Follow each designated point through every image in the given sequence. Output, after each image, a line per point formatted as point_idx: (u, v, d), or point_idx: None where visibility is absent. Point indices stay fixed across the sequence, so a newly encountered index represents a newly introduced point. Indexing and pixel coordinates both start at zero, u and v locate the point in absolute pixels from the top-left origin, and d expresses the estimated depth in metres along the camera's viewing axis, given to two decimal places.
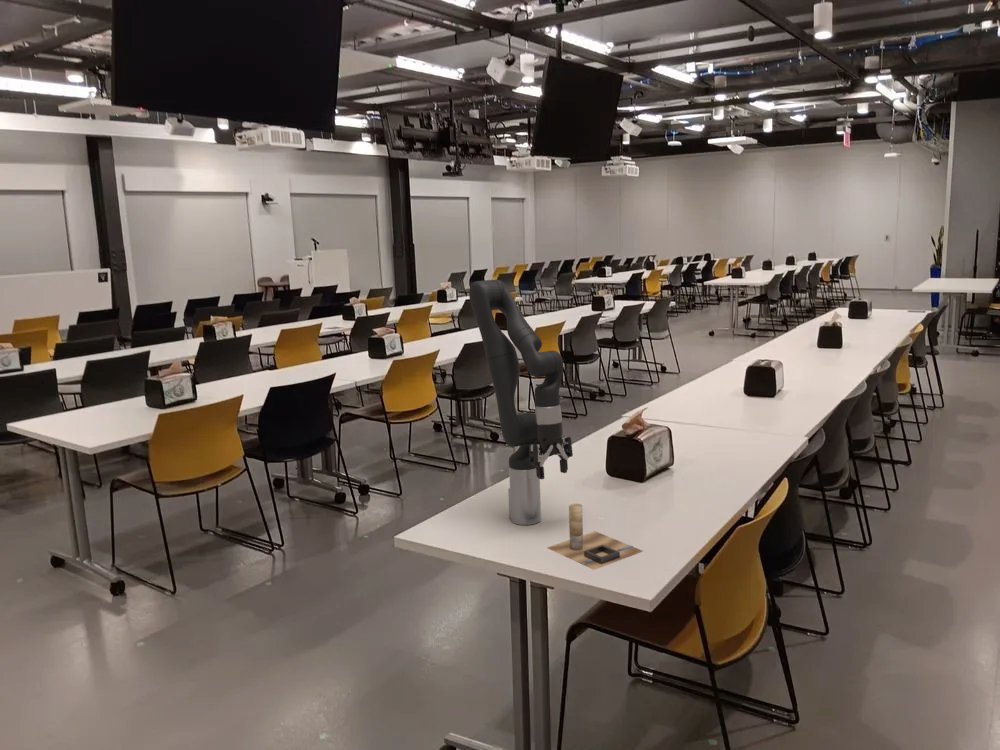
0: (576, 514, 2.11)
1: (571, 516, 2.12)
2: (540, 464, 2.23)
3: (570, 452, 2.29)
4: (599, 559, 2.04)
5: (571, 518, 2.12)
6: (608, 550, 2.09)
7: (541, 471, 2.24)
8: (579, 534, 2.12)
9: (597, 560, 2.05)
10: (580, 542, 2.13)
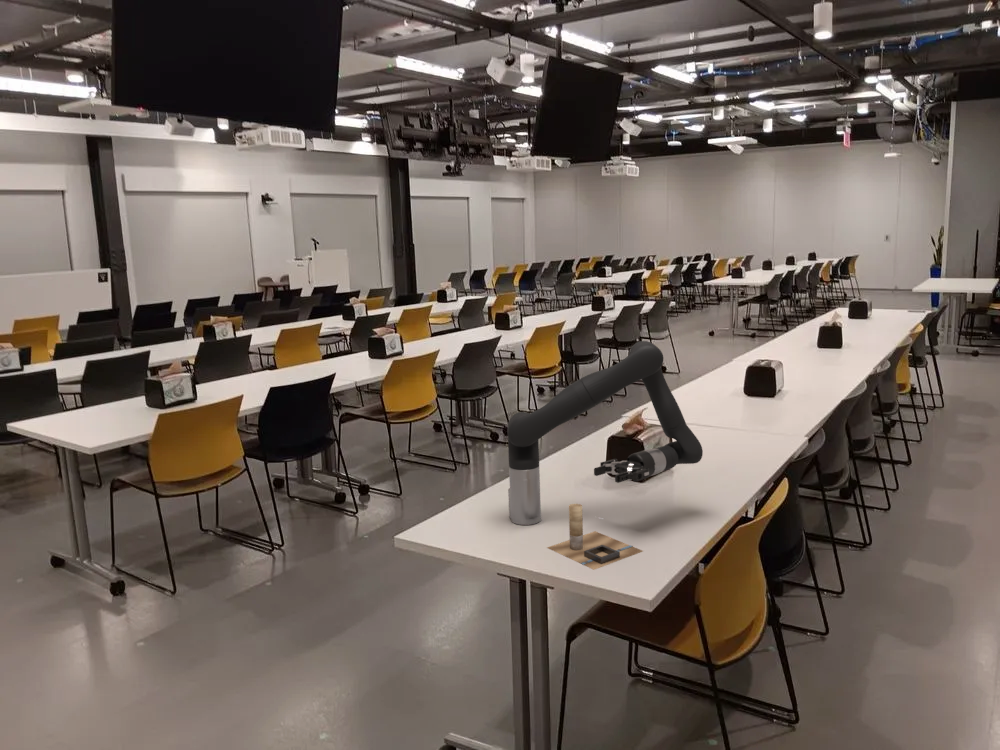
0: (576, 514, 2.11)
1: (571, 516, 2.12)
2: None
3: None
4: (599, 559, 2.04)
5: (571, 518, 2.12)
6: (608, 550, 2.09)
7: None
8: (579, 534, 2.12)
9: (597, 560, 2.05)
10: (580, 542, 2.13)
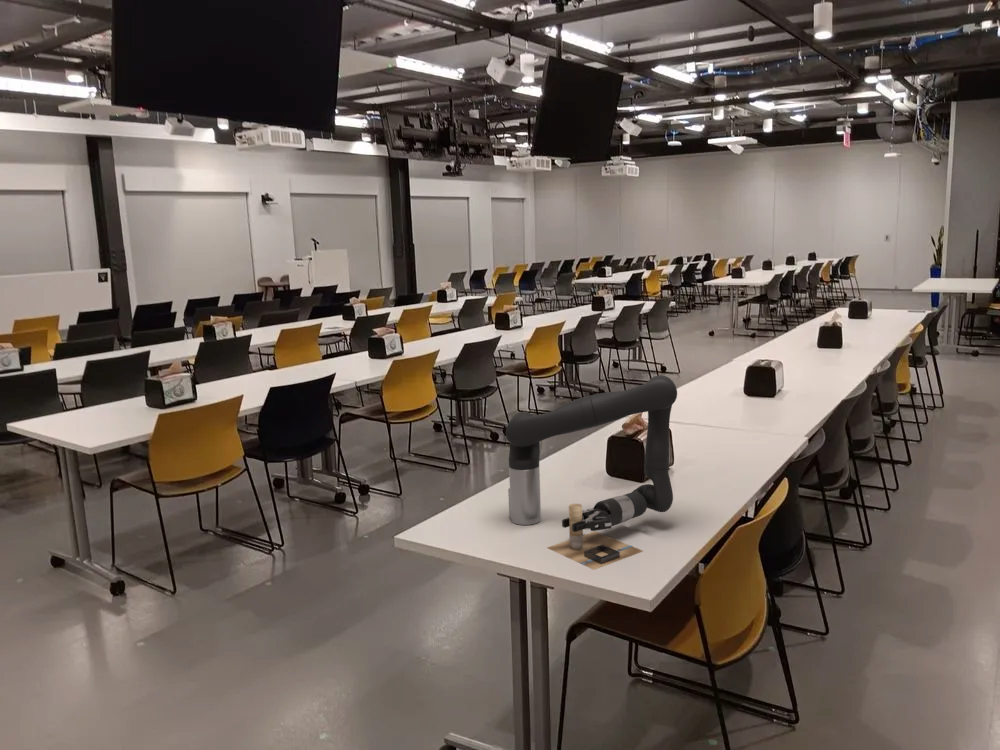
0: (575, 514, 2.11)
1: (571, 516, 2.12)
2: (587, 528, 2.12)
3: None
4: (599, 559, 2.04)
5: (571, 518, 2.12)
6: (608, 550, 2.09)
7: None
8: (579, 534, 2.12)
9: (597, 560, 2.05)
10: (580, 542, 2.13)
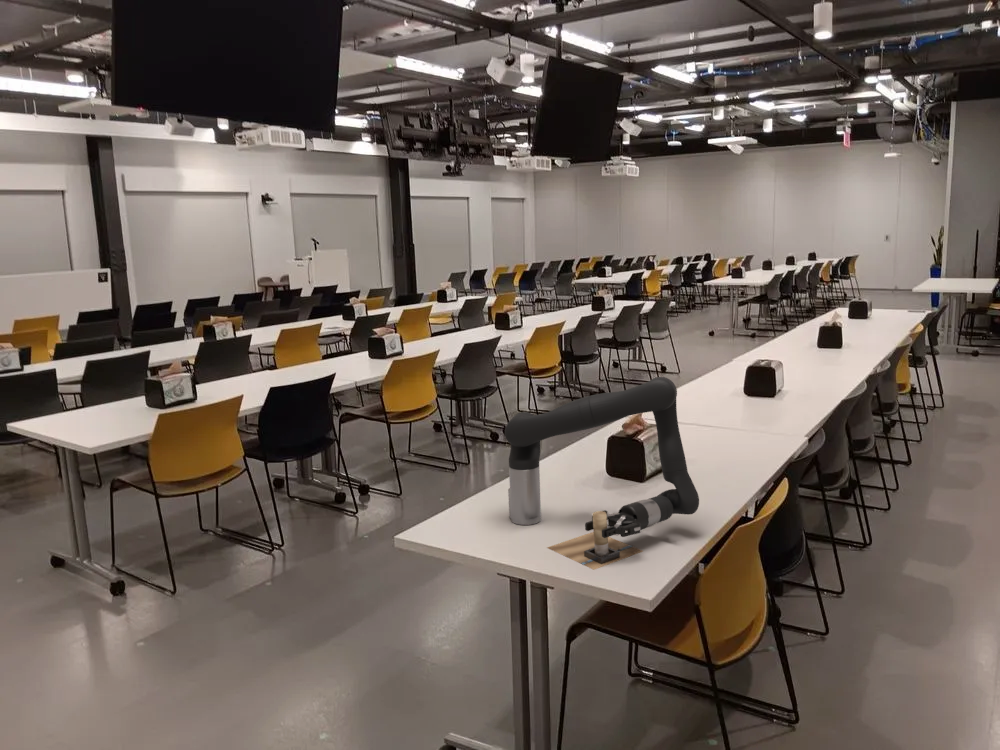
0: (600, 522, 2.04)
1: (596, 524, 2.05)
2: (617, 534, 2.05)
3: None
4: (599, 559, 2.04)
5: (595, 527, 2.05)
6: None
7: None
8: (604, 543, 2.06)
9: (597, 560, 2.05)
10: (605, 550, 2.06)
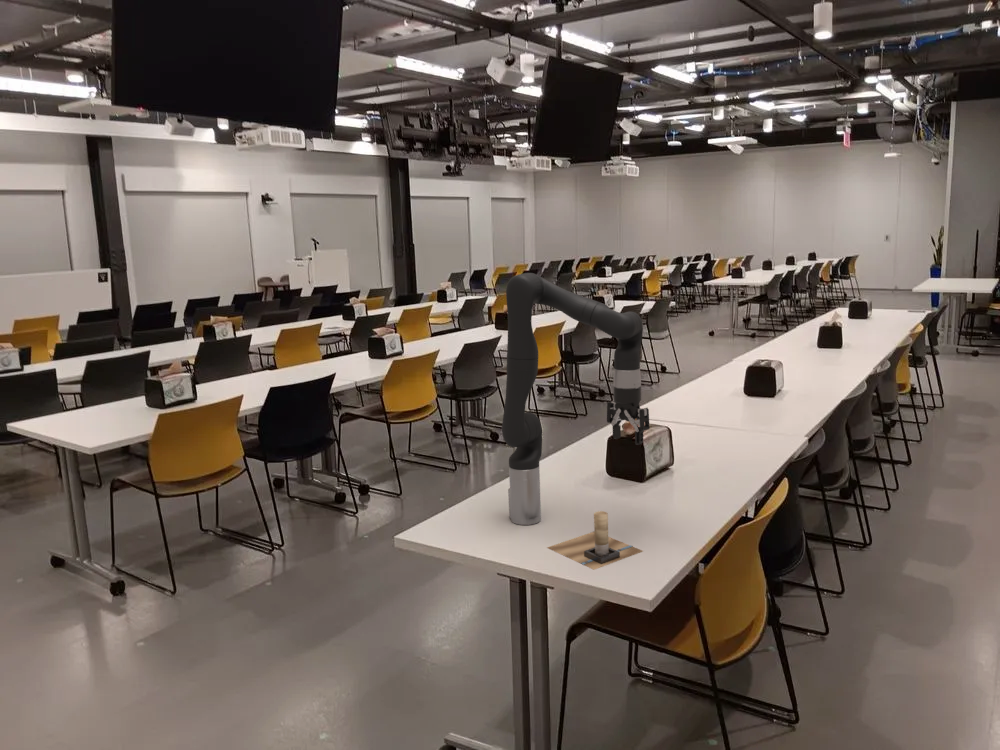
0: (601, 522, 2.04)
1: (596, 524, 2.05)
2: None
3: None
4: (599, 559, 2.04)
5: (596, 527, 2.05)
6: None
7: None
8: (605, 543, 2.06)
9: (597, 560, 2.05)
10: (605, 550, 2.06)
